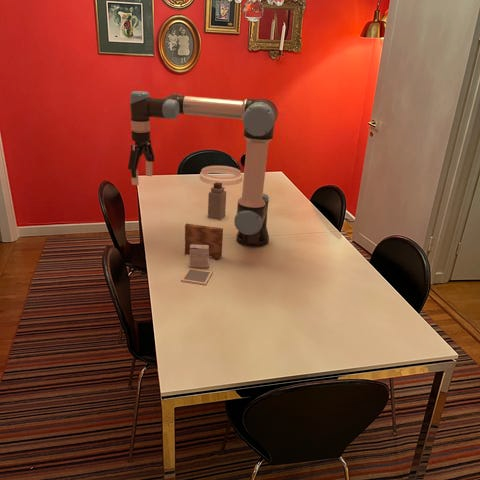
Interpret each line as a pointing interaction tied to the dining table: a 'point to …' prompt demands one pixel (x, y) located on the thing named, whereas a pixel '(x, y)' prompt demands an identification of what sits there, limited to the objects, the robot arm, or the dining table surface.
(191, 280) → the picture frame
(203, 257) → the box
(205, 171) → the pale pink ring
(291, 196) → the dining table surface
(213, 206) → the perfume bottle
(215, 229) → the wooden board with stops
